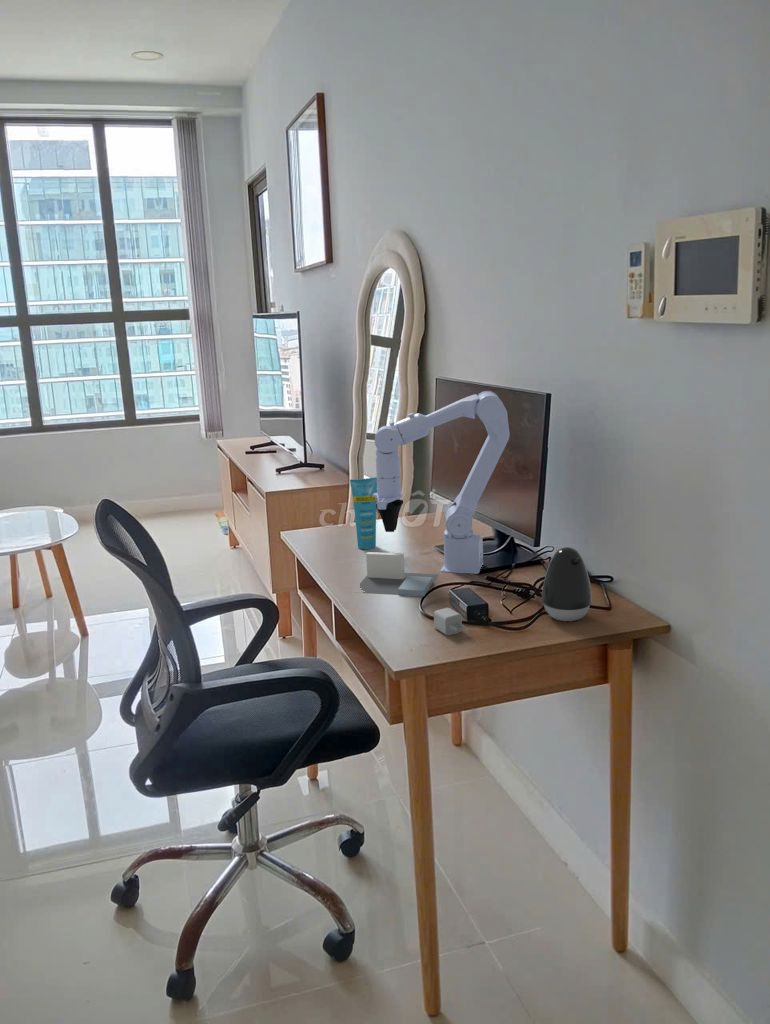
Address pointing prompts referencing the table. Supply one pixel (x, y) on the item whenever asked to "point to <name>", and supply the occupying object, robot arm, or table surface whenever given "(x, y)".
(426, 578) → the slate board
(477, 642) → the table surface
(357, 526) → the tube
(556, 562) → the grey egg shaped device
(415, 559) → the table surface
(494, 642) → the table surface
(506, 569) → the table surface
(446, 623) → the usb wall charger
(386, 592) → the mat
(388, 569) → the cream board
